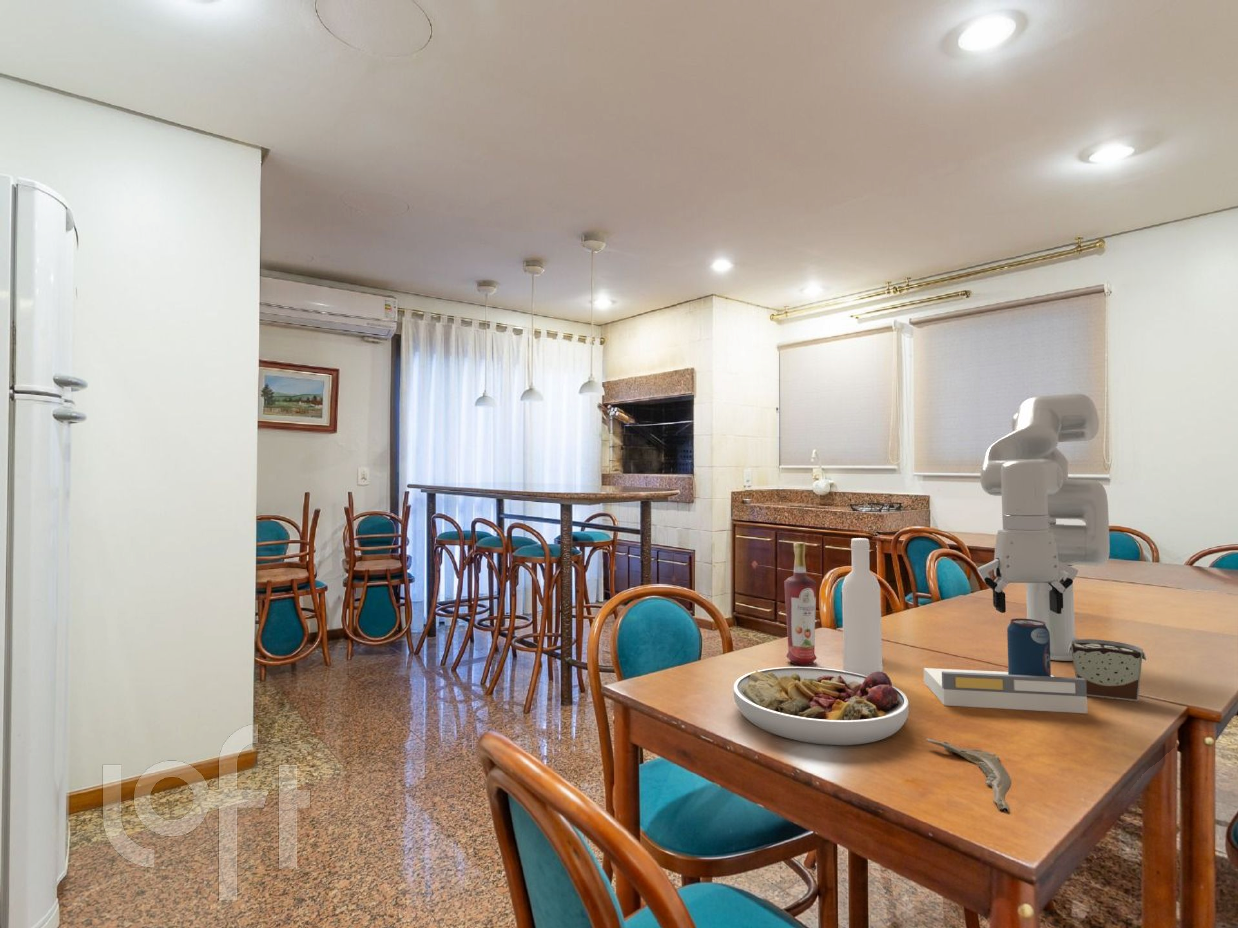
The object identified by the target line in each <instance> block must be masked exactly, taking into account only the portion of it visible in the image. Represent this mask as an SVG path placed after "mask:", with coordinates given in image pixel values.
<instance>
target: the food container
mask: <svg viewBox="0 0 1238 928" xmlns="http://www.w3.org/2000/svg"><path fill="white" fill-rule="evenodd" d="M1071 650H1072V656H1073V661H1072V662H1073V668H1074V669H1073V670H1074V675H1075V678H1084V679H1085V680H1086V688H1087V697H1096V698H1104V697H1106V698H1107V699H1114V698H1119V699H1118V700H1123V699H1124V700H1125V699H1126V700H1125V701H1132V700H1135V701H1134V702H1139V695H1140V686H1141V685H1140V683H1141V674H1142V662H1143V660H1145V661H1147V657H1146V654H1145V652H1144V650H1143V648H1141V647H1139V646H1137V645H1133V644H1129V643H1125V642H1120V641H1115V640H1105V639H1094V638H1093V639H1092V638H1079V639H1077V640H1073V641H1071V644H1070V645H1069V649H1068V653H1070V651H1071ZM1106 698H1105V699H1106Z"/></svg>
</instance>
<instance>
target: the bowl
mask: <svg viewBox="0 0 1238 928" xmlns="http://www.w3.org/2000/svg"><path fill="white" fill-rule="evenodd" d="M733 698H734V702H735V703H736V704H735V705H736V707H737V708H738V710H739V711H740V713H741V714H742V715H743V716H744V717H745V718H746V719H747V720H748V721H749V722H750V723H752V724H753V725H755V727H758V728H760V729H762V730H763V731H765V732H768V733H770V734H773V735H777V736H779V737H782V738H786V739H789V740H794V741H798V742H803V743H807V744H808V743H809V744H815V745H816V744H817V745H826V746H827V745H828V746H853V745H854V746H855V745H856V746H857V745H864V744H868V743H869V744H871V743H875V742H877V741H880V740H881V741H882V740H884V739H887V738H889V737H890V736H893V735H894V734H895V733H897V732H898V731H899V730H900V729H901V728H902V727H903V726H904V724H905V722H906V721H907V719H908V715H909V707H910V705H909V699H908V697H907V695H906V694H905V693H904V692H903V691H902V690H900V689H899V688H898V687H896V686H894V685H892V681H891V678H890V677H889V676H888V674H887V673H885V672H884V671H883V672H879V671H877V672H873V673H871V674H870V675H869V676H865V675H861V674H857V673H852V672H847V671H844V670H841V669H832V668H825V667H816V666H815V667H812V666H783V667H772V668H765V669H760V670H755V671H751V672H749V673H746V674H744V675H742V676H740V677H739V678H737V680H735V682H734V684H733Z"/></svg>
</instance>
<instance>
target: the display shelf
mask: <svg viewBox="0 0 1238 928" xmlns="http://www.w3.org/2000/svg"><path fill="white" fill-rule="evenodd" d="M923 683H924V684H925V685H926V687H927V688H929V690H930V691H931V692H932V693H933V695H934V696H935V697H936V698H937V699H938V700H939V701H940V703H941V704H943V706H946V707H947V706H951V707H952V706H953V707H965V708H966V707H967V708H968V707H969V708H983V709H985V708H986V709H1004V710H1018V711H1019V710H1020V711H1037V712H1038V711H1039V712H1057V713H1074V714H1075V713H1076V714H1088V696H1087V688H1086V680H1085V679H1084V678H1076V677H1069V676H1067V677H1066V676H1054V675H1053V674H1051V677H1050V676H1028V675H1008V671H1000V670H999V671H996V670H993V671H992V670H977V669H976V670H975V669H974V670H973V669H970V670H969V669H957V668H956V669H955V668H954V669H950V668H933V667H932V668H931V667H923Z"/></svg>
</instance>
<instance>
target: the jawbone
mask: <svg viewBox="0 0 1238 928" xmlns="http://www.w3.org/2000/svg"><path fill="white" fill-rule="evenodd" d="M925 741H926V742H928V743H931V744H933V745H937V746H940V747H943V748H944V750H945V752H948V753H951V754H953V753H954V754H957V755H959V756H961V757H962V758H964V759H966V760H967V761H968V762H971V763H973V764H976V765H977V766H978V768H979V769H980V770H981V771H982V772H983V774H985V777H986V780H985V784H986V785H987V786H989V787H991V788H992V793H993V797H992V801H993V802H994V803H995V804H996V806H997V808H998V810H999V811H1000V812H1004V813H1010V808H1009V805H1008V802H1007V801H1006V794H1007V793H1008V791H1009V790H1010V788H1011V785H1012V779H1011V776H1010V774H1009V773H1008V771H1007V769H1005V767H1004V766H1003V764H1002V763H1001V762H1000V758H999V756H997V754H995V753H992V752H988V751H986V750H985V751H984V750H981V749H973V748H972V749H971V748H963V747H962V748H961V747H958V746H956V745H952V744H951V743H949V742H948V741H943V742H942V741H937V740H933V739H931V738H928V737H927V738H926V739H925ZM1006 810H1007V811H1006Z"/></svg>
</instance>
